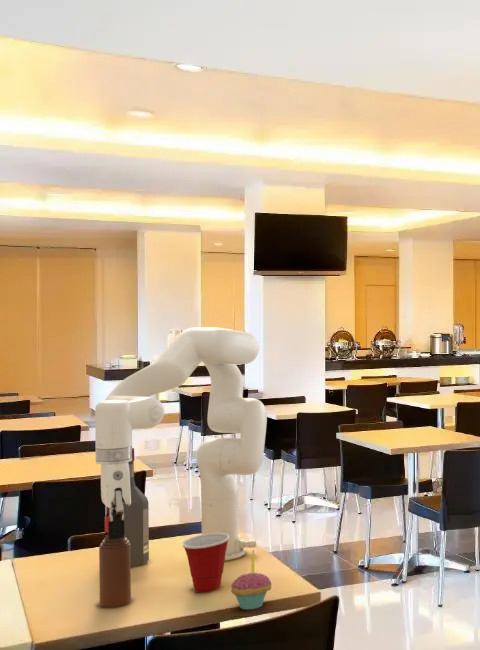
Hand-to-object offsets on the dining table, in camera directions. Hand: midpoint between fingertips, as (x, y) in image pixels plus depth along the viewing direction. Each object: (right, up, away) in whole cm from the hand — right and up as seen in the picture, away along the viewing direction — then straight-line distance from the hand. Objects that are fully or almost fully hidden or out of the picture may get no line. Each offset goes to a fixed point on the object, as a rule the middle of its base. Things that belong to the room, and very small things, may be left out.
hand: (114, 535), depth 197 cm
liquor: (-11, -16, +31) cm, 36 cm away
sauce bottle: (0, -15, 0) cm, 15 cm away
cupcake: (+32, -15, -3) cm, 35 cm away
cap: (0, +1, 0) cm, 1 cm away
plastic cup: (+17, -15, +9) cm, 25 cm away
